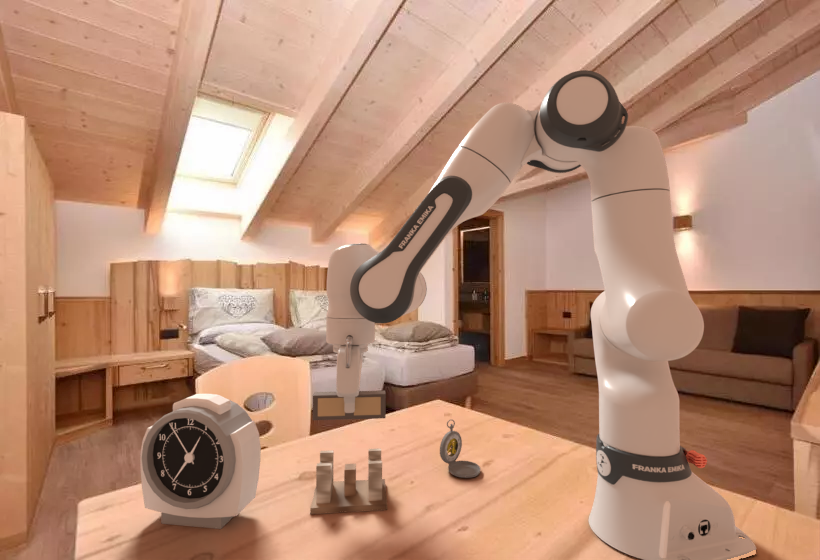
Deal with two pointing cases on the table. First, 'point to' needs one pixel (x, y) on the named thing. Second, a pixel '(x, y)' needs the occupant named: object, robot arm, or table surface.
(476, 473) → the pocket watch
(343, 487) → the display stand
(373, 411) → the long grey beam
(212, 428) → the alarm clock
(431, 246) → the robot arm
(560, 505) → the table surface
